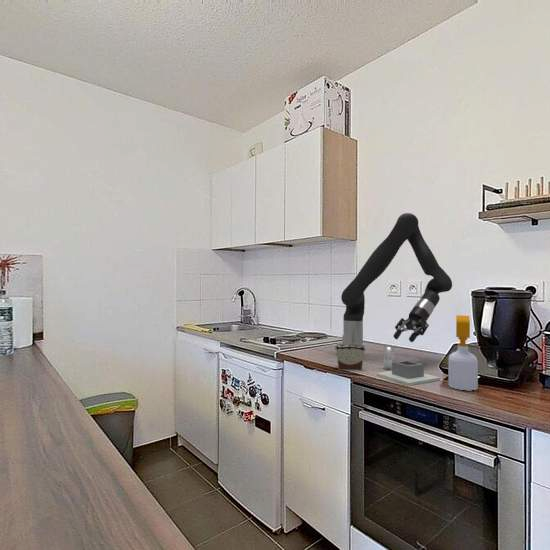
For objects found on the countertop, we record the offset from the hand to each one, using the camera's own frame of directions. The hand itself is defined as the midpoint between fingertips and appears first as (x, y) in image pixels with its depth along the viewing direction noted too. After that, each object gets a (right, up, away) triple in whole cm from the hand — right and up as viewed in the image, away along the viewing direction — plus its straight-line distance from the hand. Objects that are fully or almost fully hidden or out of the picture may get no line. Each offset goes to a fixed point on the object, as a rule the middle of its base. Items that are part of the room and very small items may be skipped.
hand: (402, 339), depth 163 cm
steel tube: (-7, -12, -4) cm, 14 cm away
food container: (-23, -12, -3) cm, 26 cm away
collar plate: (-4, -11, -18) cm, 22 cm away
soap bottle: (+10, -12, -31) cm, 35 cm away
